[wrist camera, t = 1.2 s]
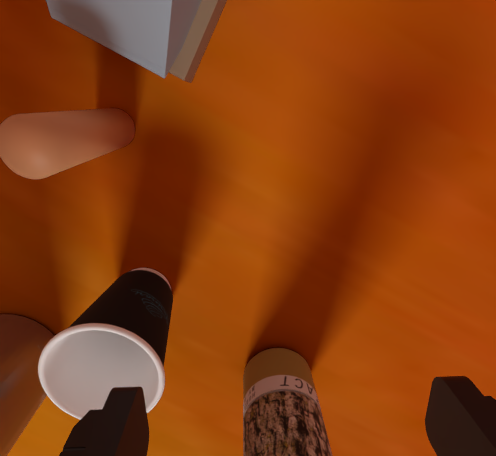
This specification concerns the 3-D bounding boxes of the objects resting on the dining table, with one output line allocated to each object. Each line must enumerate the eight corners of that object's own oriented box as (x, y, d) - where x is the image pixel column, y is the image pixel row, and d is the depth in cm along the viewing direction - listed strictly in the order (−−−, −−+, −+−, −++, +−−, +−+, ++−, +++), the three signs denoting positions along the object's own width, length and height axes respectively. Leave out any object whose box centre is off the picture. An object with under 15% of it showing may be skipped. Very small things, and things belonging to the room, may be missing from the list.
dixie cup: (98, 318, 34) (34, 415, 23) (106, 243, 31) (38, 314, 21) (181, 333, 34) (155, 434, 24) (195, 261, 32) (173, 338, 21)
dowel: (102, 149, 28) (9, 183, 17) (91, 110, 27) (-15, 118, 16) (139, 144, 28) (70, 174, 17) (129, 105, 27) (50, 109, 16)
